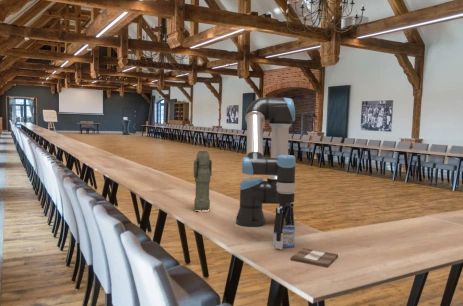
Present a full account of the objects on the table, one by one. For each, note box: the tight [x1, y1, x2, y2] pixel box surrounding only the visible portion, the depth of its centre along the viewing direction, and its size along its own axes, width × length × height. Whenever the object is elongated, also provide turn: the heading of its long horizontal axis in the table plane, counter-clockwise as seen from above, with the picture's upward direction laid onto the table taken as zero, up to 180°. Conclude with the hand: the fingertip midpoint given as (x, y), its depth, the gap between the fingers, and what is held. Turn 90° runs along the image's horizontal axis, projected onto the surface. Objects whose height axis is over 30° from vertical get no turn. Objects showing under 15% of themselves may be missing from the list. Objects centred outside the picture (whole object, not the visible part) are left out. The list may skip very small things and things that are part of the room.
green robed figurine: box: [193, 150, 213, 211], centre depth 231 cm, size 9×12×35 cm
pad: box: [290, 247, 339, 268], centre depth 150 cm, size 14×14×1 cm
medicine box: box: [272, 224, 296, 249], centre depth 165 cm, size 8×4×9 cm, turn 105°
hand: (283, 245), depth 165 cm, fingers open, 9 cm apart
